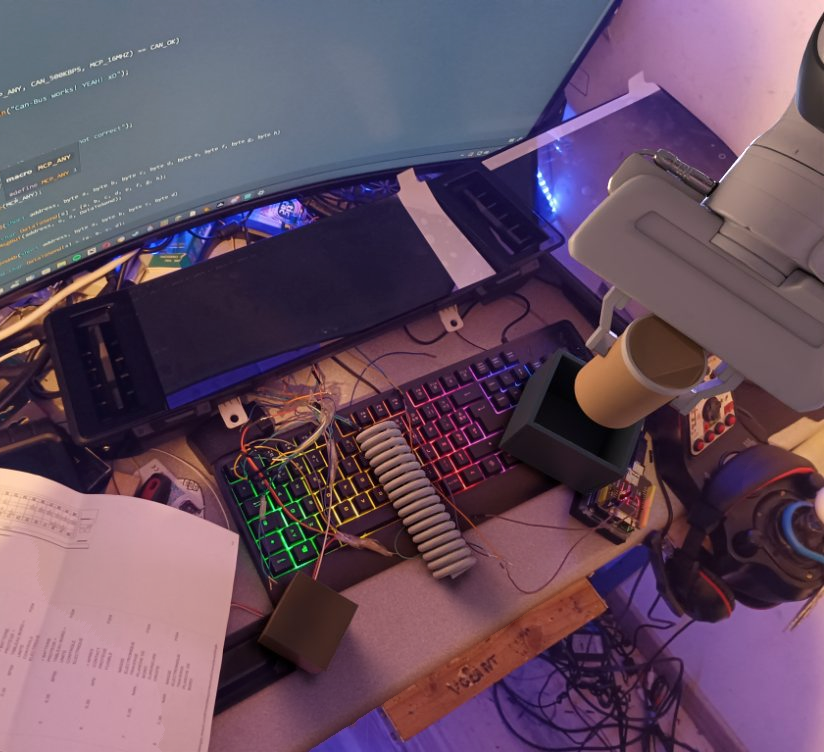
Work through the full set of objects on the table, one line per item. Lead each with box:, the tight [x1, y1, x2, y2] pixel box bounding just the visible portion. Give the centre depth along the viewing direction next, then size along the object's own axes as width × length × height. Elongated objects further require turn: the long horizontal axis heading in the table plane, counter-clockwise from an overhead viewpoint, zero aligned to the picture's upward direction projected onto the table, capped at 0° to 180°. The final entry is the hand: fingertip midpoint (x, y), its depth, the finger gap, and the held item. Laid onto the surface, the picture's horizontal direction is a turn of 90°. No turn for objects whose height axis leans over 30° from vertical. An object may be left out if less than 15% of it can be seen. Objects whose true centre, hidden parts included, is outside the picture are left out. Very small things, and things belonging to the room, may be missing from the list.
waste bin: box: [498, 348, 647, 497], centre depth 79 cm, size 11×10×9 cm
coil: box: [355, 420, 477, 580], centre depth 76 cm, size 5×5×18 cm
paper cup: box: [575, 312, 709, 428], centre depth 53 cm, size 6×6×8 cm
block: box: [257, 570, 360, 674], centre depth 66 cm, size 6×6×11 cm
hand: (634, 379), depth 53 cm, fingers closed on paper cup, 6 cm apart
